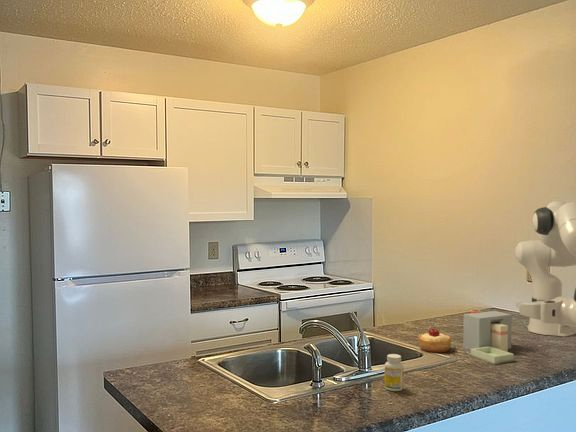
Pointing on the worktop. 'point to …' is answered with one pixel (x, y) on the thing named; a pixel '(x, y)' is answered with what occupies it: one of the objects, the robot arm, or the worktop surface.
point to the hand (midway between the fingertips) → (527, 303)
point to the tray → (492, 355)
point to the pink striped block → (499, 336)
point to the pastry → (434, 341)
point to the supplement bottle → (394, 373)
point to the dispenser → (483, 328)
